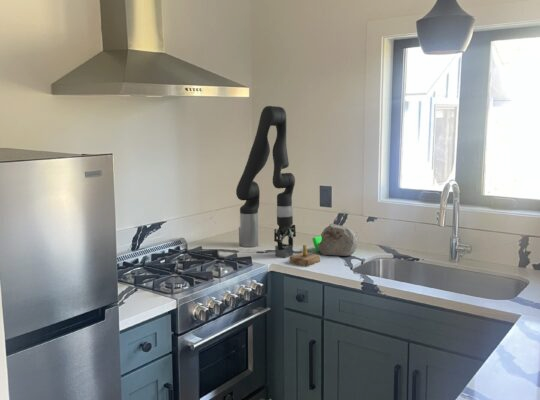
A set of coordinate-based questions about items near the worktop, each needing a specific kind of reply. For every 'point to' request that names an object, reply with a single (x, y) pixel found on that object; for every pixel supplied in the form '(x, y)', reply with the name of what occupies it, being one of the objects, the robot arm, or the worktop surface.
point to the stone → (337, 241)
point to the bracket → (316, 241)
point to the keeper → (304, 258)
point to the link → (284, 251)
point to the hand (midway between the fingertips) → (285, 248)
